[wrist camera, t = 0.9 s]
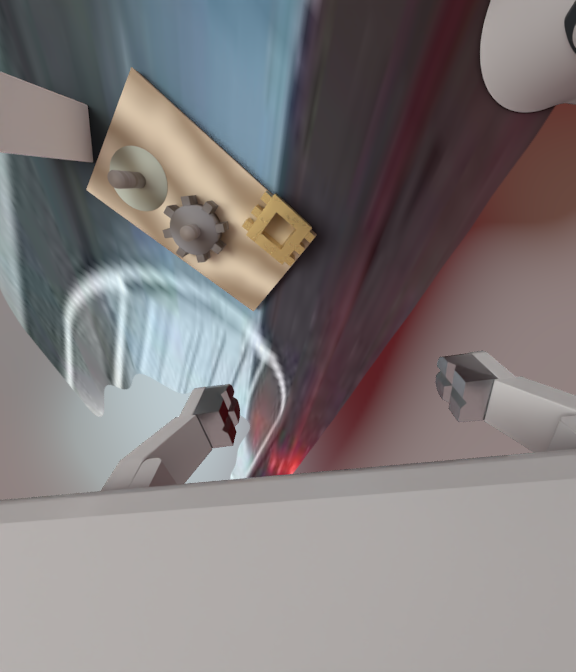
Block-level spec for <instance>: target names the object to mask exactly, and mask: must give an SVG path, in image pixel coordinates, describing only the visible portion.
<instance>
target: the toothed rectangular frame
mask: <svg viewBox="0 0 576 672" xmlns="http://www.w3.org/2000/svg"><path fill="white" fill-rule="evenodd" d="M260 199H261V200H262V201H263V202H265V203H266V204H267V205H266V207H265V208H264V209H263V208H262V207H261V206H260V205H259V204H258V205H256V206H255V207H254V209H253V210H252V212H251V213H252V214H253V215H254V216H255V217H256V218H257V219H256V221H253V220H252V219H251V218H250V217H249V218H248V219H246V221H245V222H244V224H243V225H242V227H243V228H244V229H246V230H247V231H248V232H247V234H246V236H248V237H249V238H250V239H251V240H253V241H254V242H255V243H256V244H257V245H259V246H260V247H261V248H262V249H263V250H265V251H266V252H267V253H268V254H270V255H271V256H272V257H273V258H274V259H276V260H277V261H278V262H279V263H281V264H282V265H283V263H284V262H285V263H287V264H288V265H289V266H291V265H292V264H293V263H294V262H295V255H293V254H292V252H293V251H294V250H295V251H296V252H297V253H298V254H299V255H300V254H301V253H302V252H303V251H304V250H305V245H304V244H303V243H302V242H301V241H302V240H303V239H304V238H305V239H306V240H307V241H308V242H311V241H312V240H313V239H314V237H315V235H314V233H313V232H312V231H311V229H312V227H311V225H310V224H309V223H308V222H307V221H306V220H305V219H304V218H303V217H302V216H301V215H299V214H298V213H297V212H296V211H295V210H294V209H293V208H292V207H291V206H290V205H289V204H287V203H286V202H285V201H284V200H283V199H282V198H281V197H280V196H279V195H278V194H277V193H275V194H274V195H271V194H270V193H269V192H268V191H265V193H264V194H263V196H262V197H261V198H260ZM276 212H277V213H278V214H279V215H280V216H281V217H283V218H284V219H285V220H286V221H287V222H288V223H289V224H290V225H292V226H293V227H294V228H295V229H294V230H293V232H292V233H291V234H290V235H289V237H288V238H287V239H286V241H285V242H284V243H283V244H282V245H281V244H280V243H278V242H277V241H276V240H275V239H274V238H273V237H271V236H270V235H269V234H268V233H267V232H265V231H264V229H265V227H266V226H267V225H268V223H269V222H270V220H271V219H272V218H273V216H274V215H275V214H276Z"/></svg>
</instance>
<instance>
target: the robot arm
mask: <svg viewBox="0 0 576 672" xmlns="http://www.w3.org/2000/svg"><path fill="white" fill-rule="evenodd" d="M480 62H481V70H482V75H483V79H484V82H485V85H486V87H487V89H488V91H489V93H490V94H491V96H492V97H493V98H494V99H495V100H496V101H497V102H498V103H499V104H500V105H502V106H503V107H505V108H507V109H509V110H512V111H516V112H535V111H540V110H543V109H546V108H549V107H552V106H555V105H558V104H562V103H569V104H576V0H491V2H490V5H489V8H488V11H487V14H486V18H485V21H484V26H483V31H482V37H481V46H480ZM437 366H438V368H439V369H440V370H441V371H440V372H439V373H438V374H437V375H436V387H437V391H438V393H439V395H440V397H441V398H442V400H444V401H446V402H448V403H449V410H450V411H451V412H452V414H453V415H454V417H455V418H456V419H457V421H458V422H468V421H480V420H484V422H486V423H488V424H489V425H491V426H493V427H494V428H496V429H497V430H499V431H500V432H502V433H504V434H505V435H507V436H509V437H510V438H512V439H513V440H515V441H517V442H518V443H520V444H521V445H523V446H524V447H526V448H528V449H529V450H531V451H532V452H534V453H524V454H513V455H502V456H491V457H480V458H468V459H457V460H446V461H434V462H423V463H412V464H401V465H390V466H379V467H367V468H356V469H344V470H333V471H322V472H311V473H300V474H289V475H277V476H266V477H255V478H244V479H233V480H221V481H211V482H199V483H188V484H184V483H185V482H186V481H187V480H188V479H189V477H190V476H191V475H192V473H193V472H194V471H195V470H196V469H197V467H198V466H199V465H200V464H201V463H202V461H203V460H204V459H205V458H206V457H207V455H208V454H209V453H210V452H211V451H212V448H219V447H226V446H233V443H234V439H235V435H236V430H235V426H236V425H237V424H238V423H239V418H240V408H239V403H238V400H237V399H235V398H234V397H233V395H234V390H233V387H232V385H230V384H227V385H217V386H208V387H200V388H195V389H193V391H192V393H191V395H190V397H189V398H188V400H187V402H186V404H185V406H184V408H183V410H182V412H181V414H180V416H179V417H175V418H174V419H173V420H171V421H170V422H169V423H168V424H166V425H165V426H164V427H163V428H161V429H160V430H159V431H157V432H156V433H155V434H154V435H152V436H151V437H150V438H148V439H147V440H146V441H145V442H143V443H142V444H141V445H139V446H138V447H137V448H136V449H134V450H133V451H132V452H131V453H129V454H128V455H127V456H125V457H124V458H123V459H122V460H120V462H119V463H118V465H117V466H116V468H115V469H114V471H113V472H112V474H111V476H110V477H109V479H108V480H107V482H106V483H105V485H104V486H103V488H102V490H101V491H98V492H87V493H76V494H65V495H54V496H42V497H31V498H19V499H5V500H0V672H576V395H573V394H570V393H567V392H564V391H562V390H559V389H556V388H553V387H550V386H547V385H545V384H541V383H539V382H536V381H533V380H530V379H527V378H524V377H516V376H515V375H513V374H512V373H511V372H510V371H509V370H507V369H506V368H505V367H504V366H503V365H502V364H500V363H499V362H498V361H497V360H496V359H494V358H493V357H492V356H491V355H490V354H488V353H487V352H486V351H477V352H470V353H467V354H459V355H451V356H444V357H440V358H439V359H438V363H437Z"/></svg>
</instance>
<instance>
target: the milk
mask: <svg viewBox="0 0 576 672" xmlns="http://www.w3.org/2000/svg"><path fill="white" fill-rule="evenodd" d="M0 152H2V153H11V154H20V155H29V156H38V157H47V158H56V159H65V160H74V161H83V162H92V163H93V153H92V143H91V133H90V123H89V113H88V106H87V105H86V104H84V103H81V102H78V101H76V100H73V99H71V98H68V97H65V96H63V95H60V94H57V93H55V92H52V91H50V90H47V89H44V88H42V87H39V86H37V85H34V84H31V83H29V82H26V81H23V80H21V79H18V78H16V77H13V76H10V75H8V74H5V73H3V72H0Z"/></svg>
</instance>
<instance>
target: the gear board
mask: <svg viewBox="0 0 576 672" xmlns="http://www.w3.org/2000/svg"><path fill="white" fill-rule="evenodd" d="M86 190H87V191H88V192H90V193H91V194H93V195H94V196H95V197H97V198H98V199H99V200H101V201H102V202H104V203H105V204H106V205H108V206H109V207H110V208H112V209H113V210H115V211H116V212H117V213H119V214H120V215H121V216H123V217H124V218H126V219H127V220H128V221H130V222H131V223H132V224H134V225H135V226H137V227H138V228H139V229H141V230H142V231H143V232H145V233H146V234H148V235H149V236H150V237H152V238H153V239H154V240H156V241H157V242H159V243H160V244H161V245H163V246H164V247H166V248H167V249H168V250H170V251H171V252H172V253H174V254H175V255H177V256H178V257H179V258H181V259H182V260H183V261H185V262H186V263H188V264H189V265H190V266H192V267H193V268H194V269H196V270H197V271H199V272H200V273H201V274H203V275H204V276H205V277H207V278H208V279H210V280H211V281H212V282H214V283H215V284H216V285H218V286H219V287H221V288H222V289H223V290H225V291H226V292H227V293H229V294H230V295H232V296H233V297H234V298H236V299H237V300H238V301H240V302H241V303H243V304H244V305H245V306H247V307H248V308H249V309H251V310H252V311H254V310H255V309H256V308H257V307H258V306H259V304H260V303H261V302H262V301H263V300H264V298H265V297H266V296H267V295H268V294H269V292H270V291H271V290H272V289H273V288H274V286H275V285H276V284H277V283H278V281H279V280H280V279H281V278H282V277H283V275H284V274H285V273H286V272H287V271H288V269H289V268H290V267H291V266H292V265H293V264H292V265H291V266H289V265H288V264H287V263H285V262H284V263H283V265H282V264H281V263H279V262H278V261H277V260H276V259H274V258H273V257H272V256H271V255H270V254H268V253H267V252H266V251H265V250H263V249H262V248H261V247H260V246H259V245H257V244H256V243H255V242H254V241H253V240H251V239H250V238H249V237H248V236H246V234H247V232H248V231H247V230H246V229H244V228H243V227H242V225H243V224H244V222H245V221H246V219H248V218H249V217H250V218H251V219H252V220H253V221H256V219H257V218H256V217H255V216H254V215H253V214H252V213H251V212H252V210H253V209H254V207H255V206H256V205H258V204H259V205H260V206H261V207H262V208H263V209H264V208H265V207H266V205H267V204H266V203H265V202H263V201H262V200H261V199H260V198H261V197H262V196H263V194H264V193H265V191H268V192H269V193H270V194H271V195H273V194H272V193H271V192H270V191H269V190H267V189H266V188H265V187H264V186H263V185H262V184H261V183H260V182H259V181H258V180H256V179H255V178H254V177H253V176H252V175H251V174H250V173H249V172H248V171H247V170H245V169H244V168H243V167H242V166H241V165H240V164H239V163H238V162H237V161H236V160H234V159H233V158H232V157H231V156H230V155H229V154H228V153H227V152H226V151H225V150H223V149H222V148H221V147H220V146H219V145H218V144H217V143H216V142H215V141H214V140H212V139H211V138H210V137H209V136H208V135H207V134H206V133H205V132H204V131H203V130H201V129H200V128H199V127H198V126H197V125H196V124H195V123H194V122H193V121H192V120H191V119H189V118H188V117H187V116H186V115H185V114H184V113H183V112H182V111H181V110H180V109H178V108H177V107H176V106H175V105H174V104H173V103H172V102H171V101H170V100H169V99H167V98H166V97H165V96H164V95H163V94H162V93H161V92H160V91H159V90H158V89H156V88H155V87H154V86H153V85H152V84H151V83H150V82H149V81H148V80H147V79H145V78H144V77H143V76H142V75H141V74H140V73H139V72H138V71H136V70H135V69H133V68H132V67H131V70H130V72H129V75H128V78H127V81H126V83H125V86H124V89H123V91H122V94H121V97H120V100H119V102H118V105H117V108H116V110H115V113H114V116H113V119H112V121H111V124H110V127H109V129H108V132H107V135H106V138H105V140H104V143H103V146H102V148H101V151H100V154H99V157H98V159H97V162H96V165H95V167H94V170H93V173H92V176H91V178H90V181H89V184H88V186H87V189H86ZM294 229H295V228H294V227H293V226H292V225H290V224H289V223H288V222H287V221H286V220H285V219H284V218H283V217H281V216H280V215H279V214H278V213H277V212H276V214H275V215H274V216H273V218H272V219H271V220H270V222H269V223H268V225H267V226H266V227H265V229H264V231H265V232H267V233H268V234H269V235H270V236H271V237H273V238H274V239H275V240H276V241H277V242H278V243H280V244H281V245H282V244H283V243H284V242H285V241H286V239H287V238H288V237H289V235H290V234H291V233H292V232H293V230H294ZM311 231H312V230H311ZM312 232H313V233H314V235H315V237H316V236H317V235H316V233H315V232H314V231H312ZM315 237H314V238H315ZM312 241H313V240H312ZM312 241H311V242H312ZM301 242H302V243H303V244H304V245H305V249H306V248H307V247H308V245H309V244H310V243H311V242H308V241H307V240H306V239H305V238H304V239H303V240H302V241H301ZM302 253H303V252H302ZM302 253H301V254H302ZM292 254H293V255H295V261H296V260H297V259H298V257H299V256H300V255H301V254H300V255H299V254H298V253H297V252H296V251H295V250H294V251H293V252H292Z"/></svg>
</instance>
